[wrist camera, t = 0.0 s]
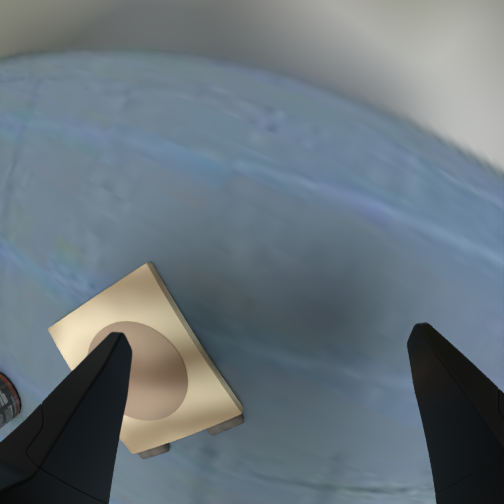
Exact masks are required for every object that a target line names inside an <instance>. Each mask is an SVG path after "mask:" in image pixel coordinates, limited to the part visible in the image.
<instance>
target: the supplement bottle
mask: <svg viewBox="0 0 504 504" xmlns="http://www.w3.org/2000/svg"><path fill="white" fill-rule="evenodd" d="M19 411H20V401H19V398H18V395H17V393H16V391H15V389H14V388H13V386H12V384H11V383H10V382H9V381H8V380H7V378H5V377H4V376H3V375H2V374H0V428H1V427H3V426H4V425H5V424H7V423H8V422H9V421H10V420H12V419H13V418H14V417H15V416H17V415H18V413H19Z"/></svg>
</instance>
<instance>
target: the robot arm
mask: <svg viewBox="0 0 504 504" xmlns="http://www.w3.org/2000/svg"><path fill="white" fill-rule="evenodd" d="M407 348H408V354H409V360H410V366H411V372H412V379H413V385H414V390H415V394H416V398H417V402H418V406H419V410H420V415H421V419H422V423H423V428H424V433H425V437H426V442H427V447H428V452H429V458H430V463H431V469H432V475H433V481H434V488H435V493H436V494H435V496H436V503H437V504H504V393H503V392H502V391H501V390H500V389H498V387H497V386H496V385H495V384H494V383H493V382H492V381H491V380H490V379H489V378H488V377H487V376H486V375H484V374H483V373H482V372H481V371H480V370H479V369H478V368H477V367H476V366H475V365H474V364H473V363H472V362H471V361H470V360H469V359H467V358H466V357H465V356H464V355H463V354H462V353H461V352H460V351H459V350H458V349H457V348H455V347H454V346H453V345H452V344H451V343H450V342H449V341H448V340H447V339H446V338H444V337H443V336H442V335H441V334H440V333H439V332H438V331H437V330H435V329H434V328H433V327H432V326H431V325H430V324H428V323H417V324H416V325H415V326H414V327H413V330H412V332H411V334H410V336H409V339H408V342H407ZM131 363H132V348H131V346H130V344H129V342H128V340H127V337H126V335H125V334H124V333H123V332H111V333H110V334H108V335H107V336H106V337H105V338H104V339H103V340H102V341H101V342H100V343H99V344H98V345H97V346H96V347H95V348H94V349H93V350H92V351H91V352H90V353H89V354H88V355H87V356H86V357H85V358H84V359H83V360H82V361H81V362H80V364H79V365H78V366H77V367H76V368H75V369H74V370H73V371H72V372H71V373H70V374H69V375H68V376H67V377H66V378H65V379H64V380H63V381H62V382H61V383H60V384H59V385H58V386H57V387H56V388H55V389H54V390H53V391H52V392H51V393H50V394H49V396H48V397H47V398H46V399H45V400H44V401H43V402H42V404H40V405H39V406H38V407H37V408H36V409H35V410H34V411H33V412H32V413H31V414H30V415H29V416H28V417H27V418H26V419H25V421H23V422H22V423H21V424H20V425H19V426H18V427H17V428H16V429H15V430H14V431H13V432H11V433H10V434H9V435H8V436H7V437H6V438H5V439H3V440H2V441H1V442H0V504H109V498H110V490H111V484H112V477H113V471H114V465H115V459H116V453H117V448H118V442H119V437H120V432H121V427H122V422H123V417H124V412H125V407H126V402H127V397H128V389H129V380H130V371H131Z"/></svg>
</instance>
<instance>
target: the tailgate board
mask: <svg viewBox="0 0 504 504" xmlns="http://www.w3.org/2000/svg"><path fill="white" fill-rule="evenodd" d="M48 330H49V332H50V334H51V336H52V338H53V339H54V341H55V343H56V345H57V347H58V348H59V350H60V352H61V354H62V355H63V357H64V359H65V360H66V362H67V364H68V365H69V367H70V369H71V370H72V371H73V370H74V369H75V368H76V367H77V366H78V365H79V364H80V362H81V361H82V360H83V359H84V358H85V357H86V356H87V355H88V354H89V353H90V352H91V351H92V350H93V349H94V348H95V347H96V346H97V345H98V344H99V343H100V342H101V341H102V340H103V339H104V338H105V337H106V336H107V335H108V334H110V333H111V332H123V333H124V334H125V335H126V337H127V340H128V342H129V344H130V346H131V348H132V363H131V371H130V380H129V389H128V397H127V402H126V407H125V412H124V417H123V422H122V427H121V432H120V437H119V438H120V439H121V440H122V442H123V443H124V444H125V445H126V447H127V448H128V449H129V450H130V451H131V453H132V454H136V453H138V455H139V456H140V457H141V458H142V459H146V458H149V457H152V456H156V455H159V454H162V453H165V452H168V451H169V450H170V448H169V445H168V443H169V442H172V441H175V440H178V439H181V438H183V437H186V436H189V435H191V434H194V433H197V432H199V431H202V430H204V429H207V430H208V432H209V433H210V434H211V435H215V434H218V433H220V432H223V431H225V430H228V429H230V428H232V427H235V426H237V425H240V424H242V423H244V418H243V416H242V410H243V406H242V405H241V403H240V402H239V400H238V399H237V398H236V396H235V395H234V393H233V392H232V390H231V389H230V388H229V386H228V385H227V383H226V382H225V380H224V379H223V377H222V376H221V374H220V373H219V371H218V370H217V368H216V367H215V365H214V364H213V362H212V361H211V359H210V358H209V356H208V355H207V353H206V352H205V350H204V349H203V347H202V345H201V344H200V342H199V341H198V339H197V338H196V336H195V334H194V333H193V331H192V330H191V328H190V326H189V325H188V323H187V322H186V320H185V318H184V317H183V315H182V313H181V312H180V310H179V308H178V307H177V305H176V303H175V302H174V300H173V298H172V297H171V295H170V293H169V292H168V290H167V288H166V286H165V285H164V283H163V281H162V279H161V278H160V276H159V274H158V272H157V271H156V269H155V267H154V265H153V263H152V262H150V263H146V264H144V265H143V266H141V267H140V268H138V269H137V270H135V271H133V272H132V273H130V274H129V275H127V276H126V277H124V278H123V279H121V280H120V281H118V282H117V283H115V284H113V285H112V286H110V287H109V288H107V289H106V290H104V291H103V292H101V293H100V294H98V295H97V296H95V297H94V298H92V299H91V300H89V301H88V302H86V303H85V304H83V305H82V306H80V307H79V308H78V309H76V310H75V311H73V312H72V313H70V314H69V315H67V316H66V317H64V318H63V319H61V320H60V321H59V322H57V323H56V324H54V325H53V326H51V327H50V328H49V329H48Z"/></svg>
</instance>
